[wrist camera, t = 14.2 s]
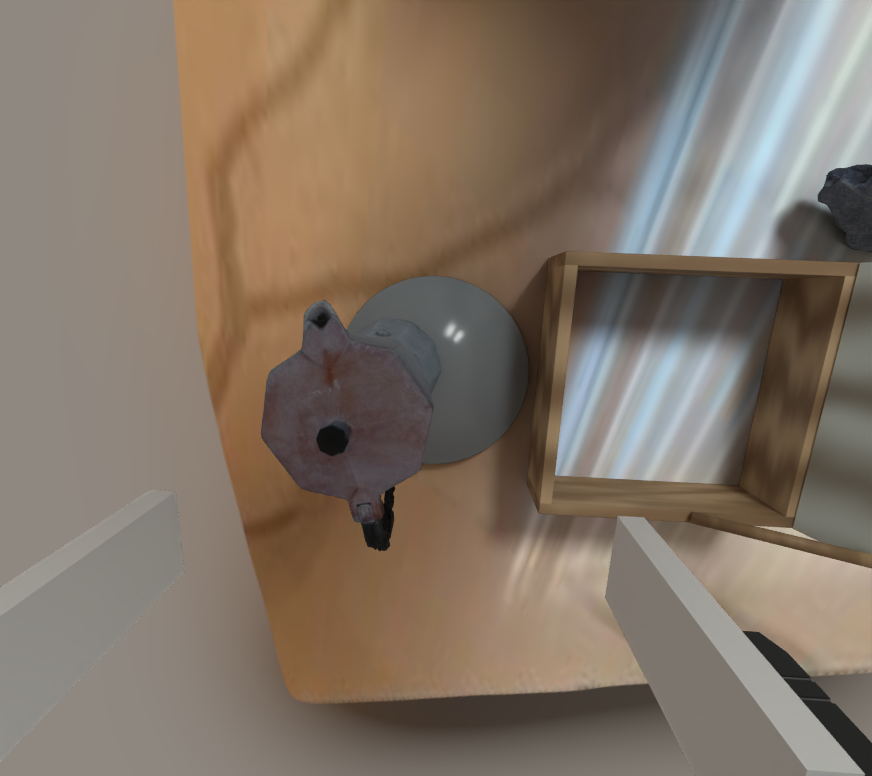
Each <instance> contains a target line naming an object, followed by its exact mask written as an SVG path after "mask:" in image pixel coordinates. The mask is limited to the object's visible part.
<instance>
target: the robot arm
mask: <svg viewBox="0 0 872 776" xmlns="http://www.w3.org/2000/svg"><path fill="white" fill-rule="evenodd" d="M183 572H184V563H183V553H182V544H181V534H180V525H179V515H178V507H177V497H176V491H166V490H150V491H148V492H147V493H145V494H143V495H142V496H140V497H139V498H137V499H136V500H134V501H133V502H131V503H130V504H128V505H126V506H125V507H123V508H122V509H120V510H119V511H117V512H116V513H114V514H113V515H111V516H110V517H108V518H106V519H105V520H103V521H102V522H100V523H99V524H97V525H96V526H94V527H93V528H91V529H90V530H88V531H86V532H85V533H83V534H82V535H80V536H79V537H77V538H76V539H74V540H73V541H71V542H69V543H68V544H66V545H65V546H63V547H62V548H60V549H59V550H57V551H56V552H54V553H53V554H51V555H50V556H48V557H46V558H45V559H43V560H42V561H40V562H39V563H37V564H36V565H34V566H32V567H31V568H29V569H28V570H26V571H25V572H23V573H22V574H20V575H18V576H17V577H15V578H14V579H12V580H11V581H9V582H8V583H6V584H5V585H3V586H1V587H0V762H1V761H2V760H3V759H4V758H5V757H6V756H7V755H8V754H9V753H10V752H11V750H12V749H13V748H14V747H15V746H16V745H17V744H18V743H19V742H20V741H21V740H22V739H23V738H24V737H25V736H26V735H27V734H28V733H29V732H30V731H31V730H32V729H33V728H34V727H35V726H36V725H37V724H38V722H39V721H40V720H41V719H42V718H43V717H44V716H45V715H46V714H47V713H48V712H49V711H50V710H51V709H52V708H53V707H54V706H55V705H56V704H57V703H58V702H59V701H60V700H61V699H62V698H63V697H64V696H65V695H66V694H67V693H68V691H69V690H70V689H71V688H72V687H73V686H74V685H75V684H76V683H77V682H78V681H79V680H80V679H81V678H82V677H83V676H84V675H85V674H86V673H87V672H88V671H89V670H90V669H91V668H92V667H93V666H94V665H95V663H97V661H98V660H99V659H100V658H101V657H102V656H103V655H104V654H105V653H106V652H107V651H108V650H109V649H110V648H111V647H112V646H113V645H114V644H115V643H116V642H117V641H118V640H119V639H120V638H121V637H122V636H123V635H124V634H125V633H126V631H127V630H128V629H129V628H130V627H131V626H132V625H133V624H134V623H135V622H136V621H137V620H138V619H139V618H140V617H141V616H142V615H143V614H144V613H145V612H146V611H147V610H148V609H149V608H150V607H151V606H152V605H153V603H155V601H156V600H157V599H158V598H159V597H160V596H161V595H162V594H163V593H164V592H165V591H166V590H167V589H168V588H169V587H170V586H171V585H172V584H173V583H174V582H175V581H176V580H177V578H179V577H180V576H181V574H183ZM605 598H606V600H607V602H608V604H609V606H610V608H611V610H612V612H613V614H614V616H615V618H616V620H617V622H618V624H619V626H620V628H621V630H622V632H623V634H624V636H625V638H626V640H627V642H628V644H629V646H630V648H631V650H632V652H633V654H634V656H635V658H636V660H637V662H638V664H639V666H640V668H641V670H642V672H643V674H644V676H645V677H646V679H647V681H648V683H649V685H650V687H651V689H652V691H653V693H654V695H655V697H656V699H657V701H658V703H659V705H660V707H661V709H662V711H663V713H664V715H665V717H666V719H667V721H668V723H669V725H670V727H671V729H672V731H673V733H674V735H675V737H676V739H677V741H678V743H679V745H680V747H681V749H682V751H683V753H684V755H685V757H686V758H687V761H688V762H689V765H690V767H691V769H692V771H693V772H694V774H695V776H872V743H871V742H870V740H868V739H867V737H866V736H865V735H864V734H863V733H862V732H861V731H860V730H859V729H858V728H857V727H856V726H855V724H854V723H853V722H852V721H851V720H850V719H849V718H848V717H847V716H846V715H845V714H844V713H843V712H842V711H841V709H840V708H839V707H838V706H837V705H836V704H833V703H831V702H830V698H829V697H828V696H827V695H826V694H825V692H823V690H822V689H821V688H820V687H819V686H818V685H817V684H816V683H815V682H812V681H811V679H810V676H809V675H808V674H807V673H806V672H805V671H804V670H803V669H802V668H801V667H800V666H799V665H798V664H797V662H796V661H795V660H794V659H793V658H792V657H791V656H790V655H789V654H788V653H787V652H786V651H784V650H783V649H782V648H780V647H779V646H777V645H776V644H775V643H773V642H772V641H771V640H769V639H768V638H766V637H765V636H764V635H762V634H761V633H759V632H750V631H741V629H740V628H739V627H738V626H737V625H736V624H735V622H734V621H733V620H732V619H731V618H730V617H729V615H728V614H727V613H726V612H725V611H724V610H723V608H722V607H721V606H720V605H719V604H718V603H717V602H716V600H715V599H714V598H713V597H712V596H711V595H710V593H709V592H708V591H707V590H706V589H705V588H704V586H703V585H702V584H701V583H700V582H699V581H698V579H697V578H696V577H695V576H694V575H693V574H692V572H691V571H690V570H689V569H688V568H687V567H686V565H685V564H684V563H683V562H682V561H681V560H680V559H679V557H678V556H677V555H676V554H675V553H674V552H673V550H672V549H671V548H670V547H669V546H668V545H667V543H666V542H665V541H664V540H663V539H662V538H661V536H660V535H659V534H658V533H657V532H656V531H655V529H654V528H653V527H652V526H651V525H650V524H649V522H648V521H647V520H646V519H645V518H644V517H628V516H617V523H616V529H615V536H614V542H613V549H612V556H611V562H610V569H609V575H608V582H607V588H606V595H605Z"/></svg>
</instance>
